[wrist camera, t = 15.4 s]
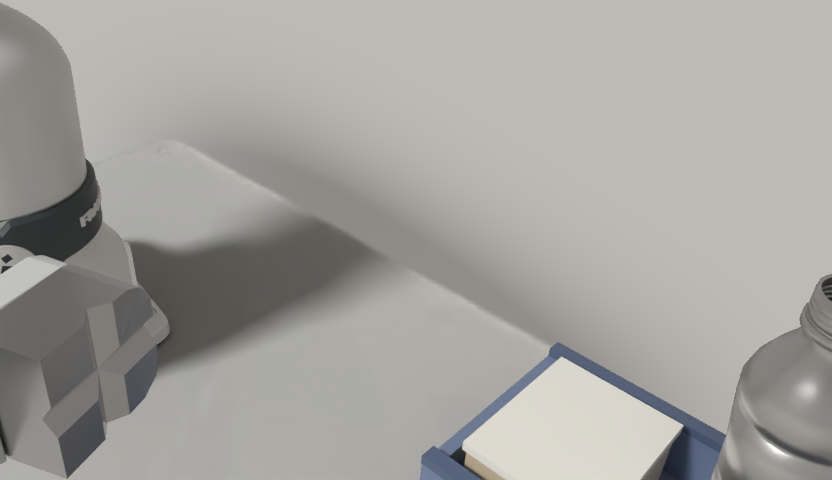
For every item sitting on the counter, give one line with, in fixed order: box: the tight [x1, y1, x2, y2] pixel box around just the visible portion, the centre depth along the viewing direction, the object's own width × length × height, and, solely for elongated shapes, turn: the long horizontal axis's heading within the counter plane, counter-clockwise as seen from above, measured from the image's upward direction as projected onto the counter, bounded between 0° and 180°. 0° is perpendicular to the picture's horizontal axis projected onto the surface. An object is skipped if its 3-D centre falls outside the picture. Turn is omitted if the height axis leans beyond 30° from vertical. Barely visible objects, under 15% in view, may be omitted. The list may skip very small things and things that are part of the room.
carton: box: [462, 357, 684, 480], centre depth 44 cm, size 8×10×5 cm
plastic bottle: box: [709, 274, 832, 480], centre depth 35 cm, size 6×7×20 cm
